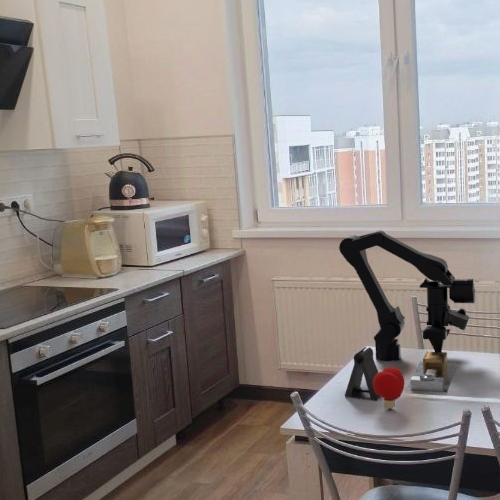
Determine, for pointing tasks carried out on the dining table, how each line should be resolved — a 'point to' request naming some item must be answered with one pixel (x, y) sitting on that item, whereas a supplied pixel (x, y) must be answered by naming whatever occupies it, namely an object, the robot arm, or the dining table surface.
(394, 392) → the table tennis paddles
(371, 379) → the dark grey a-frame stand
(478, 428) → the dining table surface
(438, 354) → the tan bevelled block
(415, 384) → the grey stepped plate
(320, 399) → the dining table surface
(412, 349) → the dining table surface
